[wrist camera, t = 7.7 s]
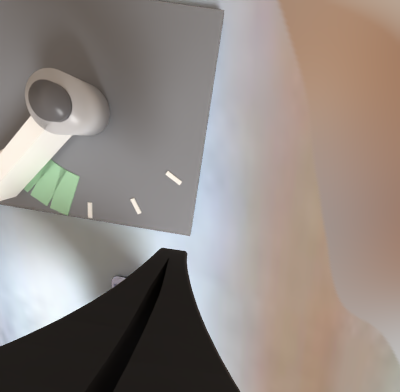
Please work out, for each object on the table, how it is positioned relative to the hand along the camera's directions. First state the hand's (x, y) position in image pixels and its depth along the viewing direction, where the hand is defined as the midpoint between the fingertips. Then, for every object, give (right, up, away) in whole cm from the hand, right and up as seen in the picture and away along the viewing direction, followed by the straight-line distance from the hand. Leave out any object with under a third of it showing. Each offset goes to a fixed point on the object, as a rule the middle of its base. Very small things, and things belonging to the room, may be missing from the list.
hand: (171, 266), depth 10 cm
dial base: (-9, +10, +7) cm, 16 cm away
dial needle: (-11, +8, +7) cm, 16 cm away
